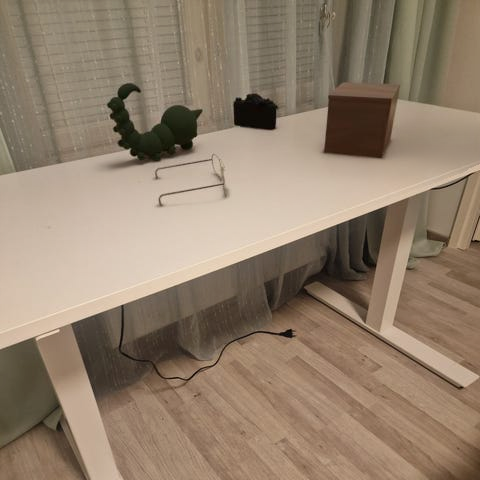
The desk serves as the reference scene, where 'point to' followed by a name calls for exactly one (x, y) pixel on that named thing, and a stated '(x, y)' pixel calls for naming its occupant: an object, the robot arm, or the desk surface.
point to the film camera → (255, 112)
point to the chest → (359, 127)
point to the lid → (365, 92)
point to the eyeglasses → (195, 188)
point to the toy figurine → (161, 136)
